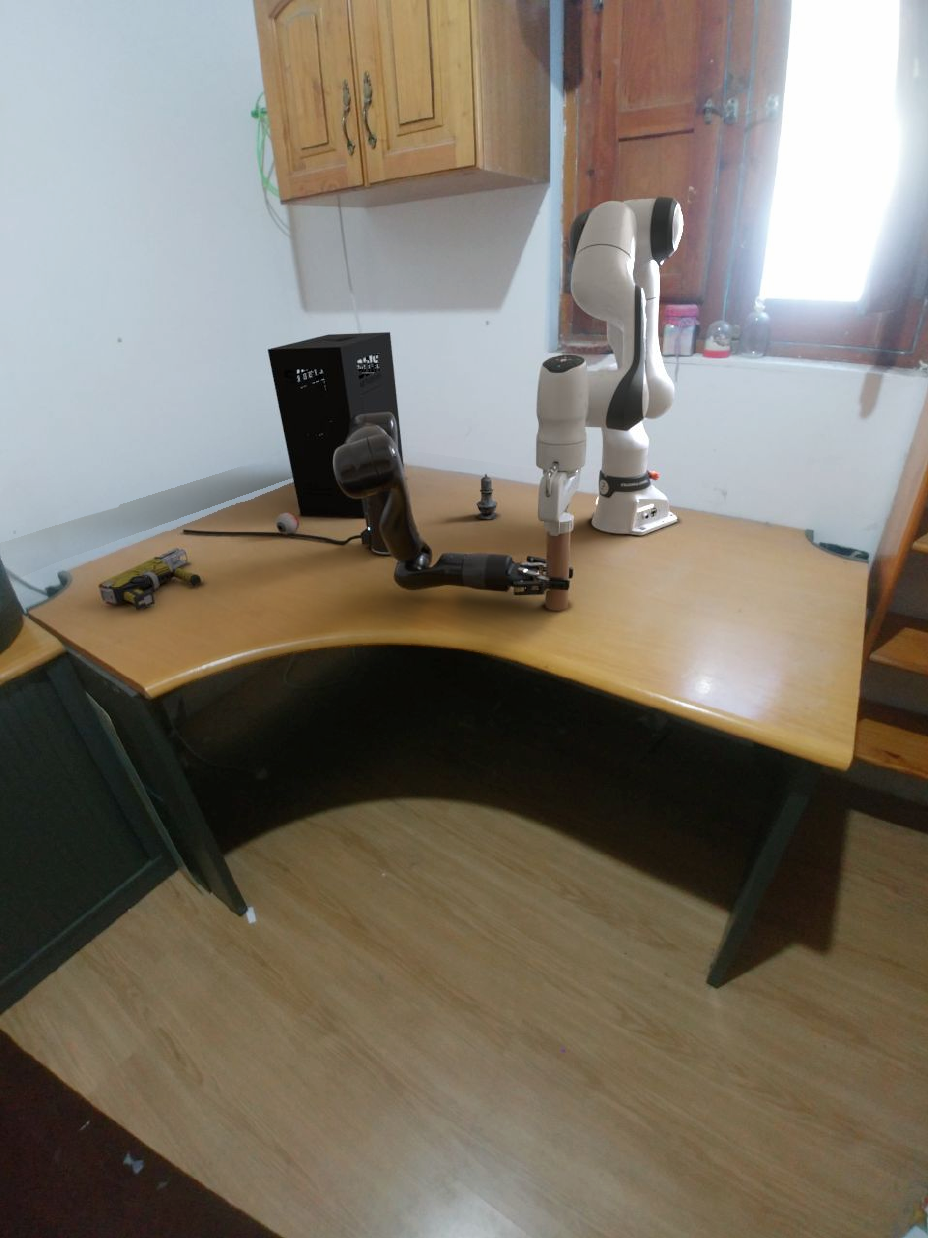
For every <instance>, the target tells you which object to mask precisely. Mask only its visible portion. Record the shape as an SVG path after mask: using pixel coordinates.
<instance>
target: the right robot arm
mask: <svg viewBox="0 0 928 1238" xmlns="http://www.w3.org/2000/svg"><path fill="white" fill-rule="evenodd" d="M683 226H684V219H683V214H682V211H681V205H680V203H679V202H678V201H677V200H676V198H674V197H670V196H669V197H668V196H657V197H656V198H638V199H637V198H636V199H635V198H634V199H627V200H624V201H619V200H609V201H605V202H602V203H600V204H597V206H596V207H591V208H588V209H586V210H583V211H582V212H580V213H578V214H577V216H576V217H575V218H574V220H573V221H572V223H571V226H570V230H569V237H568V239H569V240H568V241H569V242H568V243H569V251H570V257H571V259H572V261H573V263H572V269H571V275H570V292H571V295H572V298H573V300H574V302H575V304H577V306H578V307H579V308H580V309H581V310H582V311H583V312H584V313H586V314H587V315H588V316H590V317H592V318H595V319H597V320H599V321H604V322H606V340H607V343H608V345H609V346H610V348H611V351H612V352H613V356H614V359H615V363H609V364H605V365H603V366H601V367H599V368H598V369H597V370H588V367H587V366H588V365H587V362H586V359H585V358H583V357H582V356H580V355H576V354H560V355H556V356H551V357H549V358H548V359H546V360H544V361H543V362H542V363H541V366H540V369H539V376H538V380H537V382H538V383H537V391H536V419H537V422H538V427H537V433H536V437H535V466H536V467H537V468H539V469H540V470H542V475H543V476H542V477H541V479H540V481H539V487H538V498H537V499H538V502H537V518H538V521H539V522H543V523H544V522H548V523H549V534H550V535H551V536H558V535H559V533H560V528H561V524H560V517H561V516H562V514H563V512H566V513H569V508H570V503H571V501H572V499H573V497H574V495H575V493H576V492H577V490H578V489H579V485H580V481H581V474H582V468H584V466H586V458H587V440H588V436H587V430H586V428H599V429H600V428H601V437H602V447H601V448H602V449H601V450H602V451H601V452H602V453H601V468H600V470H599V474H598V492H599V493H598V496H597V498H596V501H595V505H596V507H595V511H594V514H593V517H592V520H591V525H592V526H593V527H594V528H595V529H597V530H599V531H601V532H605V533H611V534H623V535H625V534H626V535H632V536H633V535H634V536H645V535H646V534H650V533H652V532H654V531H657V530H660V529H662V528H665V527H668V526H670V525H672V524H675V523H677V522H678V516H677V515H676V514H675V513H674V512H672V511H670V503H669V502H670V501H669V498H668V497H667V496H666V495H665V494H664V493H663V492H661V491H660V490H659V489H658V488H656V487H655V486H654V485H652V483H651V480H653V481H658V479H659V478H660V473H659V472H657V471H654V470H651V471H649V470H648V469H647V466H648V458H649V457H648V455H649V447H650V440H649V436H648V435H647V433H646V431H645V427H644V425H643V420H644V421H646V420H647V421H648V420H656V419H659V418H662V417H663V416H664V415H666V413H667V412H668V411H670V409H671V407H672V405H673V403H674V400H675V395H676V390H675V385H674V382H673V381H672V379H671V378H670V376H669V375H668V373H667V370H666V368H665V364H664V361H663V356H662V353H661V349H660V341H659V307H660V305H659V304H660V269H659V268H660V267H661V266H663V264H664V261H666V260H667V259H669V258H670V257H671V256H672V255H673V254H674V253H675V251H676V250H677V249H678V246H679V242H680V240H681V238H682V237H681V236H682V233H683V229H684V228H683Z"/></svg>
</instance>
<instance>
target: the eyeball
mask: <svg viewBox="0 0 928 1238" xmlns="http://www.w3.org/2000/svg"><path fill="white" fill-rule="evenodd" d="M299 525H300V522H299V519H298V517H297V516H296V515H295V514H294V513H292V512H287V511H286V512H282V513H280V514H279V515H278V516H277V517H276V520H275V527H276V529H277V530H278V532H279V533H283V534H291V533H294V534H295V533H296V532H297V531H298V529H299Z"/></svg>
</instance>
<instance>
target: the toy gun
mask: <svg viewBox="0 0 928 1238" xmlns="http://www.w3.org/2000/svg"><path fill="white" fill-rule="evenodd" d="M183 556H185V560H184V559H181V558H182V557H183ZM188 562H189V560H188V554H187V551H186V549H183V548H181V549H180V548H179V547H175V548H174V549H172V550H169V551H168V552H165V553H163V554H161V555H159V556H155V557H152V558H151V559H148V560H146V561H145V562H142V563H140V564H138V565H136V566H134V567H132V568H130V569H128V570H125V571H123V572H121V573H119V574H117V575H115V576H113V577H111V578H108V579H106V580H104V581H102V582H100V583H99V584H98V589H99V592H100V596H101V599H102V601H103V602H105V604H106V605H110V606H111V605H114V604H115V605H121V604H126V603H132V604H134V605H135V609H136V611H141V610H144V609H145V608H147V607H149V606H153V605H154V604H155V603H156V602H155V599H154V594H153V592H154V591H156V590H158V589H159V588H160V584H164V583H166V582H168V581H171V580H172V579H173V578H176V579H179V580H182V581H183V582H186V583H188V584H191V585H192V586H198V585H199V584H201V582H202V579H201V576H200V575H199V574H195V573H193V572H190V571H187V570H185V569H183V568H181V566H183V565H185V564H188Z"/></svg>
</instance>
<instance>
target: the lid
mask: <svg viewBox="0 0 928 1238" xmlns="http://www.w3.org/2000/svg"><path fill="white" fill-rule="evenodd" d="M574 522H575V518H574V515H573V514H572V513H569V512H568V513H566V512H563V514H562V516H561V517H560V524H561V528H560V533H559V534H561V533H567V532H570V531H571V532H572V531H573V530H574V527H575V526H574ZM543 529H544V531H546V532H547V531H548V532H549V523H548V522H543Z"/></svg>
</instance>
